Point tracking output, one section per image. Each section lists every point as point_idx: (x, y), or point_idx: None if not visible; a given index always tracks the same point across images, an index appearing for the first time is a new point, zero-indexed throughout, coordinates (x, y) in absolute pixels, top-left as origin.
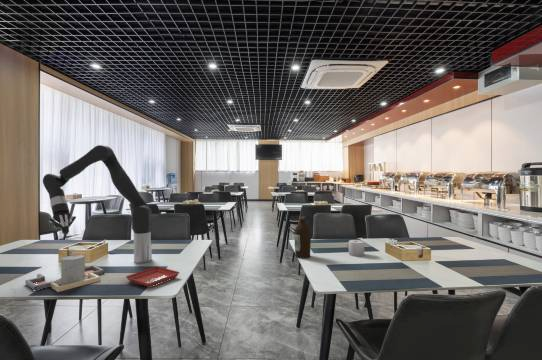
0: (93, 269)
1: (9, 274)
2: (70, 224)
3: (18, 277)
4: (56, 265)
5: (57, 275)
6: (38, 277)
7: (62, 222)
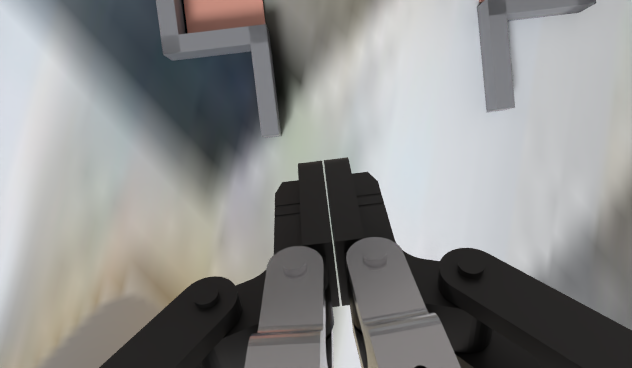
0: (181, 13)
1: None
2: (210, 286)
3: (585, 227)
4: (346, 364)
5: (393, 78)
6: (522, 9)
7: (400, 315)
